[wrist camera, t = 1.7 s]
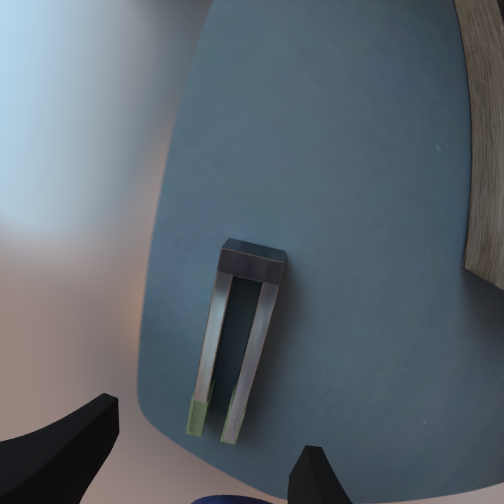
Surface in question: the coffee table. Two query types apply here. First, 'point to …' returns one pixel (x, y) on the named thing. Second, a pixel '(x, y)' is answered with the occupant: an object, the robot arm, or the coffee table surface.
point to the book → (485, 135)
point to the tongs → (229, 266)
